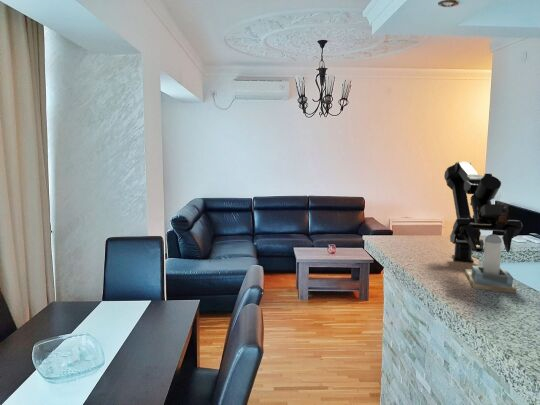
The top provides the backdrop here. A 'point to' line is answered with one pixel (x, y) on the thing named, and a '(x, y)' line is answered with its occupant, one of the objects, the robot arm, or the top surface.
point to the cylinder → (492, 255)
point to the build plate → (480, 246)
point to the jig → (490, 280)
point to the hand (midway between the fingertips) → (491, 250)
